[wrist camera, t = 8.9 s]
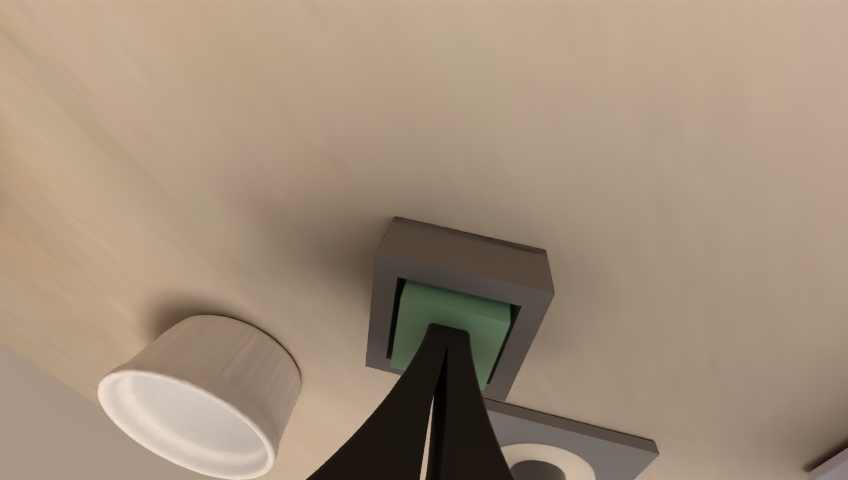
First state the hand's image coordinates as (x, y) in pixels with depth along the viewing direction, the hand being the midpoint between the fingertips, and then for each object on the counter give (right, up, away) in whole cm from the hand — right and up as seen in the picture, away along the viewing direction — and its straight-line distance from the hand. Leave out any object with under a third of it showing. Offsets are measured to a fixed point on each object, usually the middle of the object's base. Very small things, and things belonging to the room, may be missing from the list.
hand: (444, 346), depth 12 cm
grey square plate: (+6, -9, +8) cm, 13 cm away
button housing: (+1, +2, +3) cm, 3 cm away
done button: (0, +1, +2) cm, 2 cm away
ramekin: (-11, -3, +8) cm, 15 cm away
